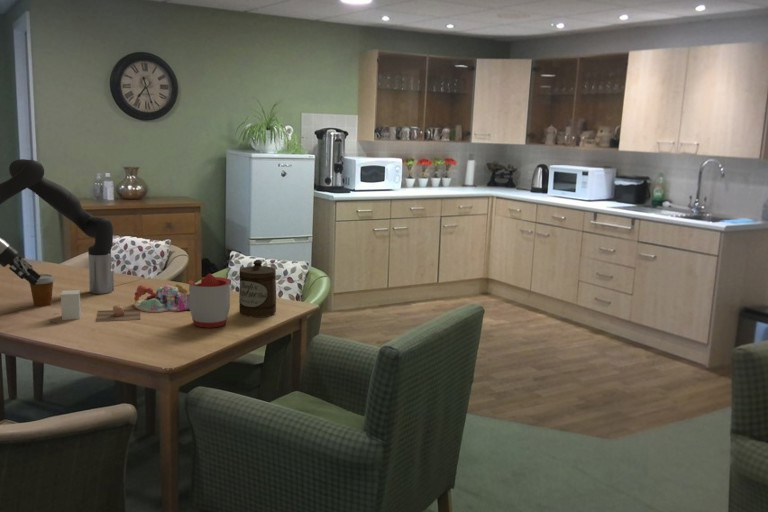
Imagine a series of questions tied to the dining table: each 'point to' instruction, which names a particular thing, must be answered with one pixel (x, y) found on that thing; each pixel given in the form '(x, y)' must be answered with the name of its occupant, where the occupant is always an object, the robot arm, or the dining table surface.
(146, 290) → the pastel sphere sculpture
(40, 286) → the disposable coffee cup
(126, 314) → the board
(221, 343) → the dining table surface
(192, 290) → the citrus juicer
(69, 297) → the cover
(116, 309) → the glossy tan pebble
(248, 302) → the wooden container
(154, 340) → the dining table surface
